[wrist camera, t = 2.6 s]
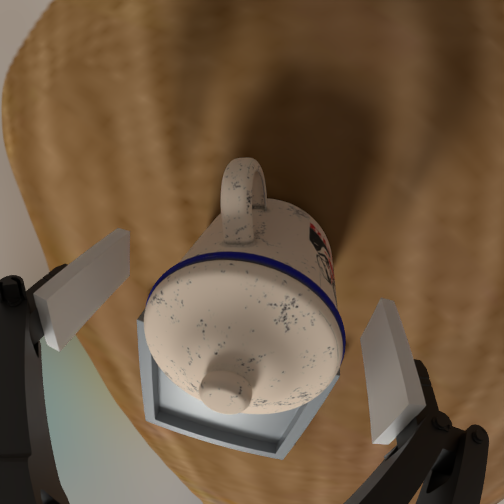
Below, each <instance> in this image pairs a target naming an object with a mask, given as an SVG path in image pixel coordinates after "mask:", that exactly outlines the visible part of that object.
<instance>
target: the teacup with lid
mask: <svg viewBox="0 0 504 504" xmlns="http://www.w3.org/2000/svg"><path fill="white" fill-rule="evenodd" d="M144 332H145V337H146V341H147V345H148V347H149V350H150V352H151V354H152V356H153V358H154V360H155V361H156V363H157V364H158V366H159V367H160V369H161V370H162V371H163V372H164V373H165V375H166V376H167V377H168V378H169V379H170V380H171V381H172V382H173V383H175V384H176V385H177V386H178V387H180V388H181V389H182V390H184V391H185V392H186V393H188V394H190V395H191V396H193V397H195V398H196V399H198V400H200V401H202V402H203V403H204V404H205V405H206V406H207V407H208V408H210V409H211V410H213V411H215V412H218V413H222V414H229V415H231V414H238V413H245V414H271V413H278V412H284V411H287V410H291V409H294V408H297V407H299V406H301V405H304V404H306V403H307V402H309V401H311V400H313V399H314V398H315V397H317V396H318V395H319V394H321V393H322V392H323V391H324V390H325V389H326V388H327V387H328V385H329V384H330V383H331V382H332V380H333V379H334V377H335V376H336V374H337V372H338V370H339V367H340V365H341V363H342V360H343V357H344V353H345V344H346V340H345V330H344V326H343V322H342V319H341V317H340V314H339V312H338V310H337V299H336V289H335V279H334V270H333V261H332V253H331V248H330V245H329V242H328V239H327V237H326V235H325V233H324V231H323V230H322V228H321V227H320V226H319V224H318V223H317V222H316V221H315V220H314V219H313V218H312V217H311V216H310V215H309V214H308V213H306V212H305V211H303V210H302V209H300V208H298V207H297V206H295V205H292V204H290V203H287V202H284V201H281V200H276V199H269V198H267V194H266V185H265V178H264V174H263V171H262V168H261V166H260V164H259V163H258V162H257V161H256V160H255V159H253V158H236V159H234V160H232V161H231V162H230V163H229V164H228V165H227V167H226V169H225V172H224V175H223V179H222V186H221V214H219V215H218V216H217V217H216V218H215V220H214V221H213V222H212V223H211V224H210V226H209V227H208V228H207V229H206V230H205V232H204V233H203V234H202V235H201V236H200V238H199V239H198V240H197V241H196V242H195V244H194V245H193V246H192V247H191V249H190V250H189V251H188V252H187V254H186V255H185V256H184V257H183V258H182V260H181V261H180V262H179V263H178V264H176V265H175V266H173V267H171V268H170V269H169V270H168V271H166V272H165V273H164V274H163V275H162V276H161V277H160V278H159V279H158V281H157V282H156V283H155V285H154V286H153V288H152V290H151V292H150V294H149V296H148V299H147V303H146V308H145V313H144Z"/></svg>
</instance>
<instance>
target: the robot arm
mask: <svg viewBox="0 0 504 504" xmlns="http://www.w3.org/2000/svg"><path fill="white" fill-rule="evenodd" d="M129 276H130V231H127V230H124V229H120V228H117V229H116V230H114V231H113V232H112V233H110V234H109V235H107V236H106V237H105V238H103V239H102V240H101V241H99V242H98V243H96V244H95V245H94V246H92V247H91V248H90V249H88V250H87V251H86V252H84V253H83V254H82V255H80V256H79V257H78V258H77V259H75V260H74V261H73V262H71V263H70V264H69V265H67V264H63V265H61V266H58V267H56V268H54V269H53V270H52V271H51V272H49V274H47V275H46V276H44V277H43V279H41V280H39V281H38V282H37V283H35V284H34V285H33V286H32V287H31V288H30V289H28V290H27V291H25V286H24V281H23V279H22V278H21V277H19V276H16V275H10V276H6V277H4V278H2V279H1V280H0V504H69V501H68V498H67V496H66V494H65V492H64V490H63V489H62V486H61V484H60V481H59V477H58V473H57V469H56V464H55V460H54V455H53V450H52V445H51V440H50V435H49V428H48V423H47V416H46V407H45V399H44V389H43V377H42V362H41V361H42V360H41V344H40V341H39V340H40V339H41V338H42V337H43V336H45V340H46V343H47V345H48V346H50V347H52V348H54V349H56V350H58V351H59V352H60V351H61V350H62V349H63V347H64V346H65V345H66V344H67V343H68V342H69V341H70V340H71V338H72V337H73V336H74V335H75V334H76V333H77V332H78V331H79V329H80V328H81V327H82V326H83V325H84V324H85V323H86V322H87V321H88V319H89V318H90V317H91V316H92V315H93V314H94V313H95V312H96V311H97V310H98V309H99V307H100V306H101V305H102V304H103V303H104V302H105V301H106V300H107V299H108V298H109V297H110V296H111V295H112V294H113V293H114V291H115V290H116V289H117V288H118V287H119V286H120V285H121V284H122V283H123V282H124V281H125V280H126V279H127V278H128V277H129ZM360 341H361V347H362V354H363V361H364V368H365V376H366V384H367V392H368V401H369V411H370V421H371V433H372V443H373V444H389V443H391V442H392V441H393V440H394V439H395V438H396V439H397V445H396V446H395V447H394V448H393V449H392V450H391V451H390V452H389V453H388V454H386V455H385V456H384V458H385V459H384V460H383V462H382V463H381V464H380V465H379V466H378V467H377V469H376V470H375V471H374V472H373V473H372V474H371V475H370V477H369V478H368V479H367V480H366V481H365V482H364V483H363V484H362V485H361V486H360V487H359V489H358V490H357V491H356V492H355V493H354V494H353V495H352V496H351V497H350V498H349V499H348V500H347V501H346V502H345V503H344V504H408V503H409V502H410V500H411V499H412V498H413V496H414V495H415V493H416V492H417V490H418V489H419V487H420V486H421V484H422V483H423V485H422V488H421V491H420V494H419V497H418V499H417V502H416V504H480V500H481V495H482V490H483V484H484V478H485V472H486V464H487V456H488V447H489V437H488V434H487V432H486V431H485V430H484V428H482V427H481V426H479V425H476V424H475V425H471V426H470V427H469V428H468V429H467V430H465V431H464V430H461V429H458V428H456V427H453V426H452V422H451V420H450V419H449V417H448V416H447V415H446V414H445V413H443V412H441V411H439V409H438V406H437V402H436V399H435V395H434V392H433V388H432V387H431V382H430V380H429V375H428V372H427V369H426V367H425V366H424V365H423V363H422V362H421V361H420V360H415V359H413V356H412V353H411V350H410V346H409V343H408V340H407V337H406V334H405V331H404V328H403V325H402V322H401V319H400V316H399V314H398V311H397V308H396V305H395V303H394V301H392V300H388V299H384V298H381V299H380V301H379V303H378V305H377V307H376V309H375V311H374V313H373V315H372V317H371V319H370V321H369V323H368V325H367V327H366V329H365V330H364V332H363V334H362V336H361V338H360ZM423 481H424V482H423Z"/></svg>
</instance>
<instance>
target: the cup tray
mask: <svg viewBox="0 0 504 504" xmlns="http://www.w3.org/2000/svg"><path fill="white" fill-rule="evenodd" d="M144 313H145V310H144V311H143V312H142V314H141V315H140V316H139V318H138V319H137V332H138V349H139V362H140V374H141V384H142V394H143V403H144V411H145V418H146V421H148V422H151V423H153V424H156V425H158V426H161V427H164V428H167V429H169V430H172V431H175V432H178V433H181V434H184V435H187V436H190V437H193V438H196V439H199V440H203V441H206V442H209V443H213V444H216V445H220V446H224V447H227V448H231V449H235V450H239V451H243V452H248V453H252V454H257V455H261V456H266V457H271V458H276V459H282V460H283V459H284V458H285V456H286V455H287V454H288V452H289V451H290V450H291V448H292V447H293V446H294V444H295V443H296V441H297V440H298V439H299V437H300V436H301V434H302V433H303V432H304V430H305V429H306V427H307V426H308V425H309V423H310V422H311V420H312V419H313V417H314V416H315V414H316V413H317V411H318V410H319V408H320V407H321V405H322V404H323V402H324V401H325V399H326V397H327V396H328V394H329V393H330V391H331V390H332V388H333V386H334V385H335V383H336V382H337V380H338V378H339V377H340V367H339V370H338V372H337V374H336V376H335V377H334V379H333V380H332V382H331V383H330V384H329V385H328V387H327V388H326V389H325V390H324V391H323V392H322V393H321V394H319V395H318V396H317V397H315V398H314V399H313V400H311V401H309V402H307V403H306V404H304V405H301V406H299V407H297V408H294V409H291V410H287V411H284V412H278V413H271V414H245V413H238V414H231V415H229V414H222V413H218V412H215V411H213V410H211V409H210V408H208V407H207V406H206V405H205V404H204V403H203V402H202V401H200V400H198V399H196V398H195V397H193V396H191V395H190V394H188V393H186V392H185V391H184V390H182V389H181V388H180V387H178V386H177V385H176V384H175V383H173V382H172V381H171V380H170V379H169V378H168V377H167V376H166V375H165V373H164V372H163V371H162V370H161V369H160V367H159V366H158V364H157V363H156V361H155V360H154V358H153V356H152V354H151V352H150V350H149V347H148V345H147V341H146V337H145V332H144Z"/></svg>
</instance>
